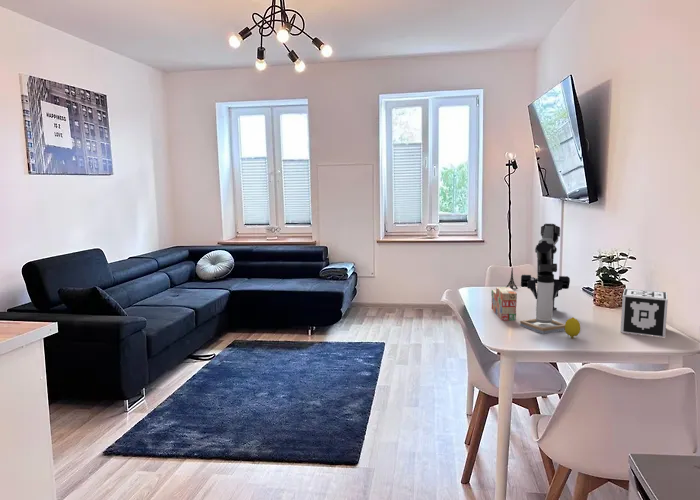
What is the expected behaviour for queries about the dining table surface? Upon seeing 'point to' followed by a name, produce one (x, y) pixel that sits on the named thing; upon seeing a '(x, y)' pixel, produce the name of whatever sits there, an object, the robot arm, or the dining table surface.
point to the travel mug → (545, 297)
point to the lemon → (572, 327)
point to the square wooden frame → (543, 326)
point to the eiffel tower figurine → (511, 282)
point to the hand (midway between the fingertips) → (544, 299)
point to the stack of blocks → (504, 303)
